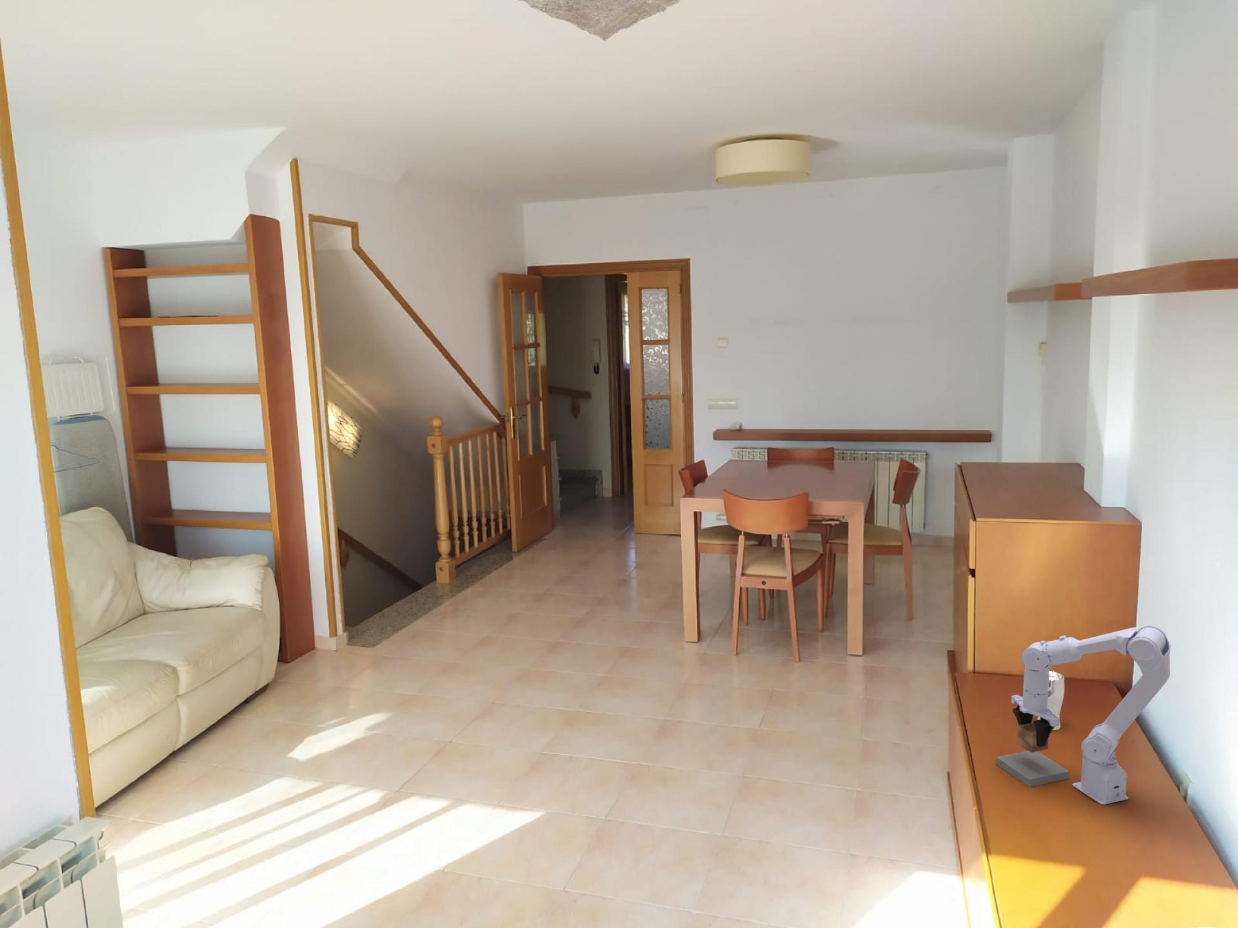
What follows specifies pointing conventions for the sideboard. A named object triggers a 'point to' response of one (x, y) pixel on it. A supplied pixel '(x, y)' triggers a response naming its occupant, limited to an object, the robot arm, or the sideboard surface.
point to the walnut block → (1029, 738)
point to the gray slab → (1032, 768)
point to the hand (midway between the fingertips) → (1033, 740)
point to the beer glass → (1055, 694)
